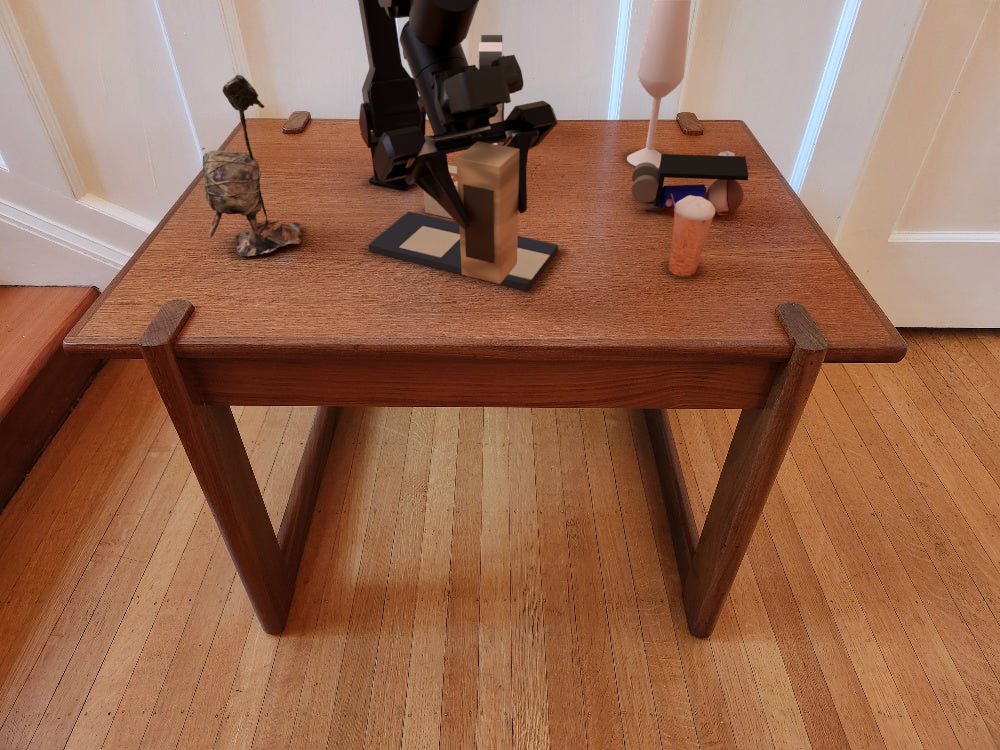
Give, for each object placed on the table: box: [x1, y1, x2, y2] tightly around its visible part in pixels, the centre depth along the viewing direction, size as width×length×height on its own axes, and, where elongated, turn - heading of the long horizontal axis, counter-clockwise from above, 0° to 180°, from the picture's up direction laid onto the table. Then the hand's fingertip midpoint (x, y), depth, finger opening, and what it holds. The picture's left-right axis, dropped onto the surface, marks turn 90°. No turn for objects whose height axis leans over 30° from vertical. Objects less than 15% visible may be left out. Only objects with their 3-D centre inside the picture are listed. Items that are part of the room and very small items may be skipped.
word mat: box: [367, 211, 559, 292], centre depth 81 cm, size 22×10×1 cm, turn 65°
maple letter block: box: [455, 141, 519, 285], centre depth 66 cm, size 5×5×13 cm
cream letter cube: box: [422, 164, 458, 220], centre depth 89 cm, size 6×6×5 cm
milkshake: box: [668, 194, 716, 277], centre depth 75 cm, size 4×5×10 cm
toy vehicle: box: [631, 153, 750, 216], centre depth 88 cm, size 7×8×15 cm
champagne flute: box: [626, 0, 692, 169], centre depth 95 cm, size 7×7×24 cm
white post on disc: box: [477, 34, 505, 145], centre depth 105 cm, size 12×11×15 cm
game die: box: [716, 150, 736, 156], centre depth 99 cm, size 4×4×3 cm
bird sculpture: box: [201, 74, 304, 258], centre depth 77 cm, size 8×11×20 cm
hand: (495, 219), depth 65 cm, fingers closed on maple letter block, 6 cm apart
